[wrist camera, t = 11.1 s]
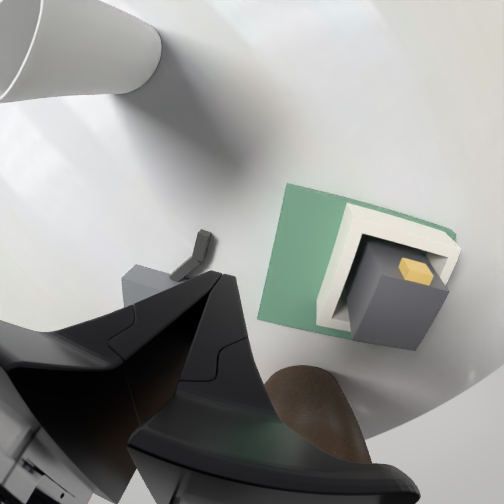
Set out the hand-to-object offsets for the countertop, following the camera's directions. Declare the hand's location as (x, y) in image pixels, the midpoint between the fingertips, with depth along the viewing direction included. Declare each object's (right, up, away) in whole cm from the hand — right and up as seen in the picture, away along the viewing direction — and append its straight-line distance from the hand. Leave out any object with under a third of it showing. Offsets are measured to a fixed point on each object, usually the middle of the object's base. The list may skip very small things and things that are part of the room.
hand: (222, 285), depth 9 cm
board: (+9, -1, +12) cm, 15 cm away
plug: (+10, 0, +10) cm, 15 cm away
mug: (-10, +17, +8) cm, 21 cm away
